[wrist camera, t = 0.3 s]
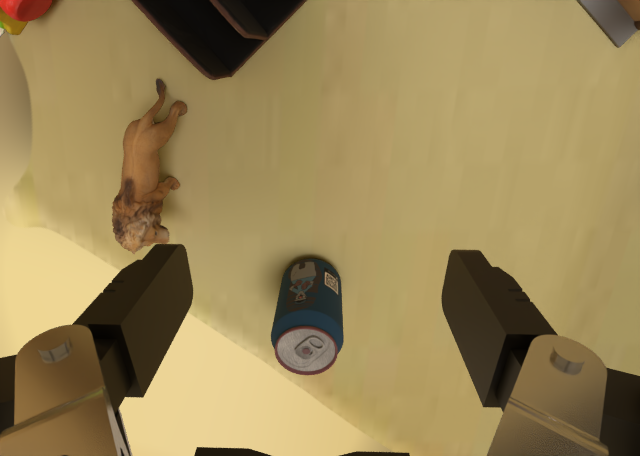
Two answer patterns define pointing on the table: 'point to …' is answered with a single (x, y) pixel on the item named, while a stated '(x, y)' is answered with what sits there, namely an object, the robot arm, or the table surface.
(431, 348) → the table surface
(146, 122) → the lion figurine
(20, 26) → the toy measuring tape
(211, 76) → the letter holder
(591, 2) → the grey and brown panels
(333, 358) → the soda can
